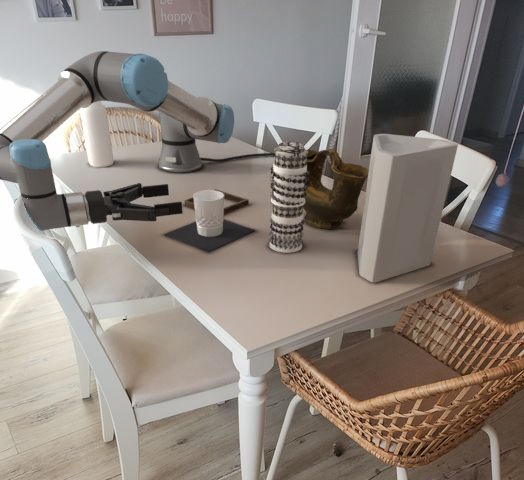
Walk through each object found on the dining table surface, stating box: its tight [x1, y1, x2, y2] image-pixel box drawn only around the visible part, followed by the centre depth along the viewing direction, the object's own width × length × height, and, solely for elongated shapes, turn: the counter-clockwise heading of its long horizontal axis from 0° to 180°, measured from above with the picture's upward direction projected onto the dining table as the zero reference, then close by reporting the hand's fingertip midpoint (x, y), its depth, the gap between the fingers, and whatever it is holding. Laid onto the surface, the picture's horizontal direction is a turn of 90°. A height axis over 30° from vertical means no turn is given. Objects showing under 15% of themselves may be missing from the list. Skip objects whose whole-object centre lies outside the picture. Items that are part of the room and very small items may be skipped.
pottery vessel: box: [303, 148, 369, 230], centre depth 140 cm, size 25×11×20 cm, turn 40°
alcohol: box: [79, 101, 115, 168], centre depth 177 cm, size 9×9×30 cm
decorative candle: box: [268, 141, 309, 254], centre depth 125 cm, size 9×9×25 cm
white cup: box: [192, 189, 225, 237], centre depth 135 cm, size 8×8×10 cm
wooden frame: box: [183, 189, 250, 215], centre depth 154 cm, size 14×14×2 cm
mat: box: [164, 218, 255, 253], centre depth 138 cm, size 18×16×1 cm
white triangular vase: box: [356, 133, 459, 284], centre depth 118 cm, size 19×15×28 cm
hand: (174, 198), depth 129 cm, fingers open, 13 cm apart
